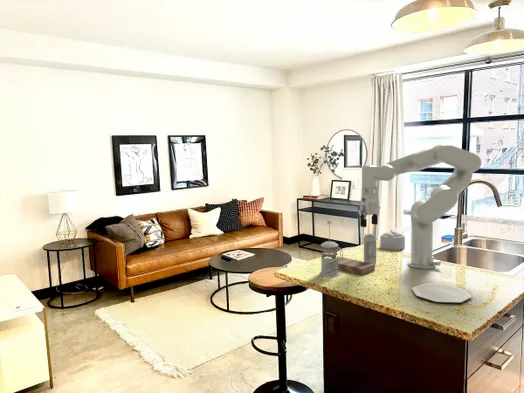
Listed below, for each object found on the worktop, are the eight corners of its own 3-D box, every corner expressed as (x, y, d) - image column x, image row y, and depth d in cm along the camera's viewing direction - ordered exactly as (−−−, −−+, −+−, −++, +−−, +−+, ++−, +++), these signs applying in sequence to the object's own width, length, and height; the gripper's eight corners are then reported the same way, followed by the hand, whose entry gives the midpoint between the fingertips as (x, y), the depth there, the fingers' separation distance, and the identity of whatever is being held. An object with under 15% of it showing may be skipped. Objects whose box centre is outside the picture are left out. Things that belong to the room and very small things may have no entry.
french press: (315, 272, 181) (314, 220, 179) (335, 268, 186) (335, 217, 183) (326, 278, 172) (325, 223, 170) (348, 274, 177) (347, 220, 174)
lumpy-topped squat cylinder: (385, 244, 231) (385, 230, 230) (407, 247, 223) (407, 232, 222) (378, 248, 223) (378, 233, 222) (401, 251, 215) (401, 235, 214)
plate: (479, 296, 147) (479, 293, 147) (451, 310, 135) (451, 306, 135) (431, 283, 163) (431, 280, 163) (402, 294, 151) (402, 290, 151)
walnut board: (374, 270, 182) (374, 264, 181) (362, 275, 175) (362, 269, 175) (340, 262, 196) (339, 256, 196) (327, 266, 190) (327, 260, 190)
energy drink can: (375, 262, 194) (375, 233, 192) (376, 266, 188) (376, 236, 186) (363, 262, 195) (363, 233, 193) (364, 266, 189) (364, 236, 187)
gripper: (366, 192, 179) (365, 229, 181) (386, 190, 190) (385, 224, 192) (352, 191, 184) (352, 227, 186) (372, 189, 196) (372, 222, 198)
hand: (369, 225), depth 189 cm, fingers open, 9 cm apart
